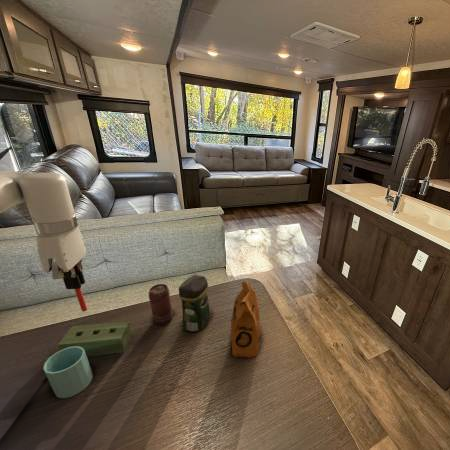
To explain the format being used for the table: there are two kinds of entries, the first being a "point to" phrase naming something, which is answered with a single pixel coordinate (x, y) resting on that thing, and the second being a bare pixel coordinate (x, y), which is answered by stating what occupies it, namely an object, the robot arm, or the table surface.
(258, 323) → the coffee package
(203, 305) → the coffee jar
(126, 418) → the table surface
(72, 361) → the tumbler
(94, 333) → the straw holder
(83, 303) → the straw
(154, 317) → the can
